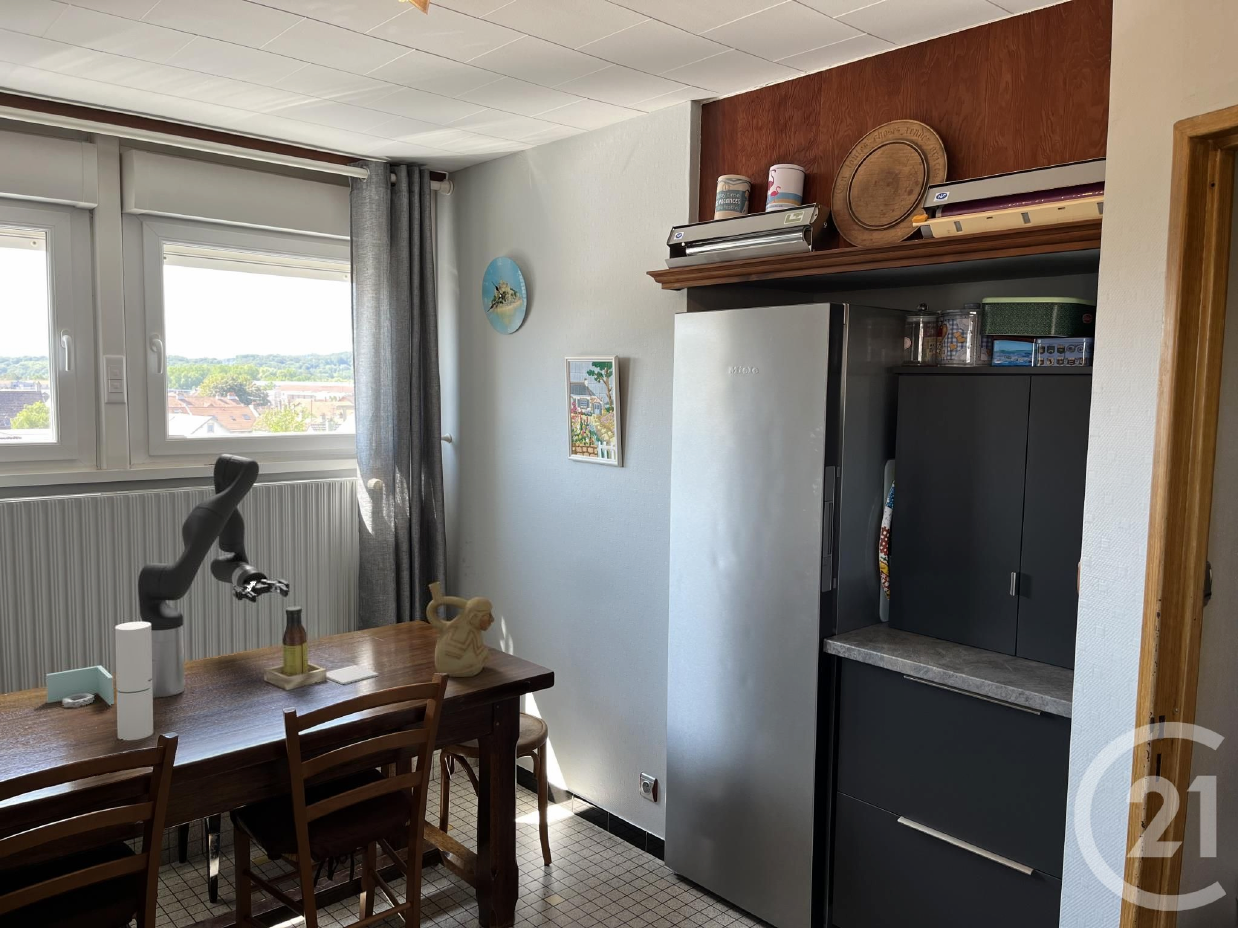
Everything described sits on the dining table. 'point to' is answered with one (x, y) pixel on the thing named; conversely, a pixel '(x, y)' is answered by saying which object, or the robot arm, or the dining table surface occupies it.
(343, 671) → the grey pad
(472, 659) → the ceramic vessel
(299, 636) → the sauce bottle
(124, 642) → the cylindrical container
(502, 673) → the dining table surface
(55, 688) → the l-shaped corner panel
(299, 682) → the wood collar
